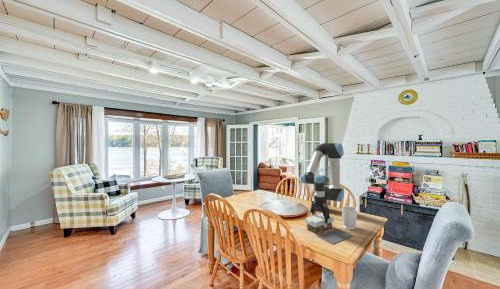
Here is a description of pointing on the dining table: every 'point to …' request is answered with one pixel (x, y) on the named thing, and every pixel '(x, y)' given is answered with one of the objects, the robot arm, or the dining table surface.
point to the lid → (318, 220)
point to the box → (319, 228)
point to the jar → (349, 217)
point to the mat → (335, 236)
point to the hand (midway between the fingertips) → (319, 224)
